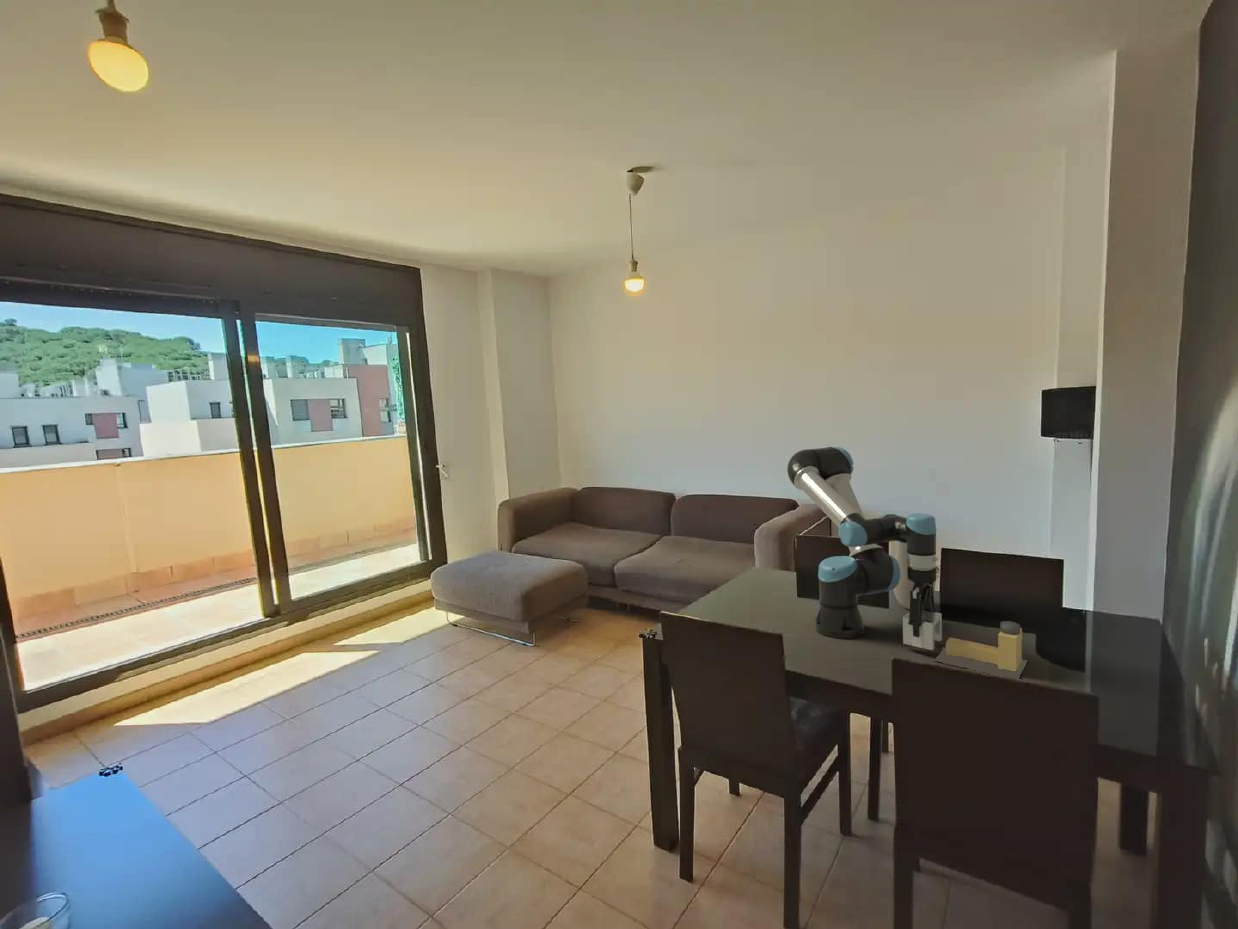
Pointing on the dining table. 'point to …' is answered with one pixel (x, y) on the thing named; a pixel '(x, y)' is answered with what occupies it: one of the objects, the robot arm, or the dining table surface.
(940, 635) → the grey slotted block
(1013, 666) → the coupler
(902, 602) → the vase
